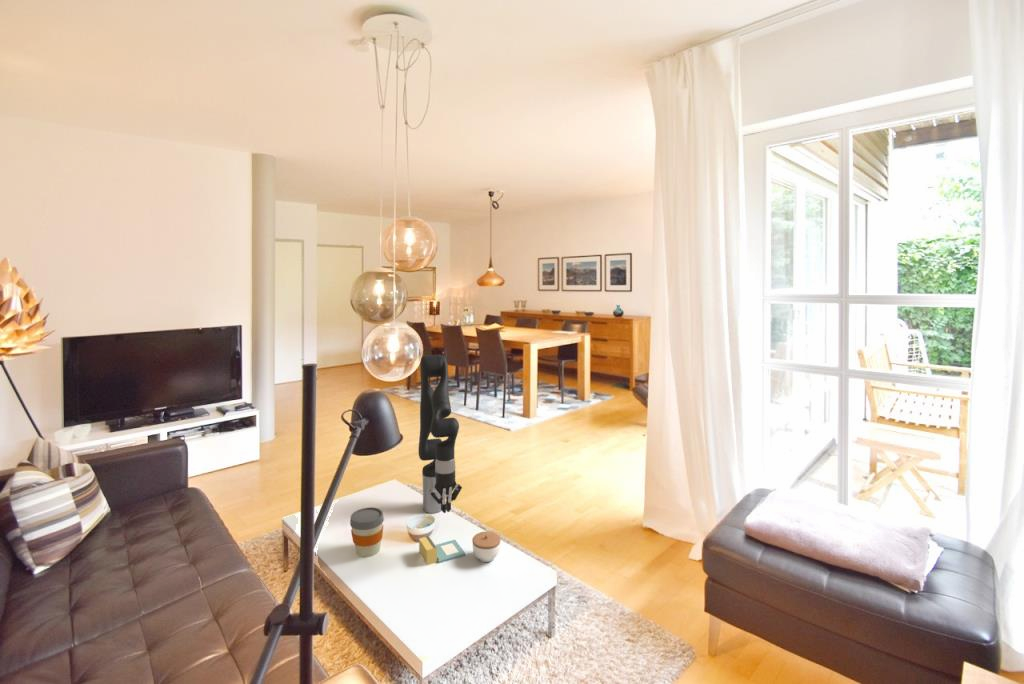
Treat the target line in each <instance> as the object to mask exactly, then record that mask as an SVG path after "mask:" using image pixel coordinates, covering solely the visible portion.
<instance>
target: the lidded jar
mask: <svg viewBox="0 0 1024 684" xmlns="http://www.w3.org/2000/svg"><path fill="white" fill-rule="evenodd" d="M471 543H472V550H473V553H474V555H475V557H476V558H477V560H479V561H480V562H483V563H489V562H492V561H493V560H494V559H495V558H496V557H497V556H498V554H499V552H500V550H501V548H500V547H501V537H500V535H499V534H497V533H496V532H493V531H481V532H478V533H475V534H474V535H473V537H472V541H471Z"/></svg>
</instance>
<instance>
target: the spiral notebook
mask: <svg viewBox="0 0 1024 684" xmlns="http://www.w3.org/2000/svg"><path fill="white" fill-rule="evenodd" d="M435 545H436V547H437V563H438V564H441V563H444V561H445V562H448V561H452V560H454V558H455V559H458V558H461V556H462V557H465V556H466V554H467V553H466V552H465V550H464V549H463V548H462V546H460V544H459V542H458V541H457V540H456V539H452V540H449V541H444V542H441V543H438V544H435Z"/></svg>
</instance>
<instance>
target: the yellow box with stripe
mask: <svg viewBox="0 0 1024 684" xmlns="http://www.w3.org/2000/svg"><path fill="white" fill-rule="evenodd" d="M436 545H437V544H436V543H434V541H433V540H432V538H431V536H430V535H426V536H423V537H420V538H419V539H418V550H419V551H418V552H419V554H420V556H421V558H422V560H423V561H424V563H425V564H426V566H428V565H432V564H435V563H438V561H437V547H436Z"/></svg>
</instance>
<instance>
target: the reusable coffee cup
mask: <svg viewBox="0 0 1024 684" xmlns="http://www.w3.org/2000/svg"><path fill="white" fill-rule="evenodd" d="M384 521H385V518H384V512H383V510H382V509H380V508H378V507H362V508H360V509H357V510H355V511H354V512H353V513H351V515H350V521H349V525H350V527H351V530H350V531H351V533H350V534H351V538H352V543H353V544H354V547H355V553H356V555H357V556H358V557H361V558H370V557H373V556H375V555H377V554H378V553H379V552H380V551H381V543H382V539H383V534H384V533H383V532H384V524H383V523H384Z"/></svg>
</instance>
